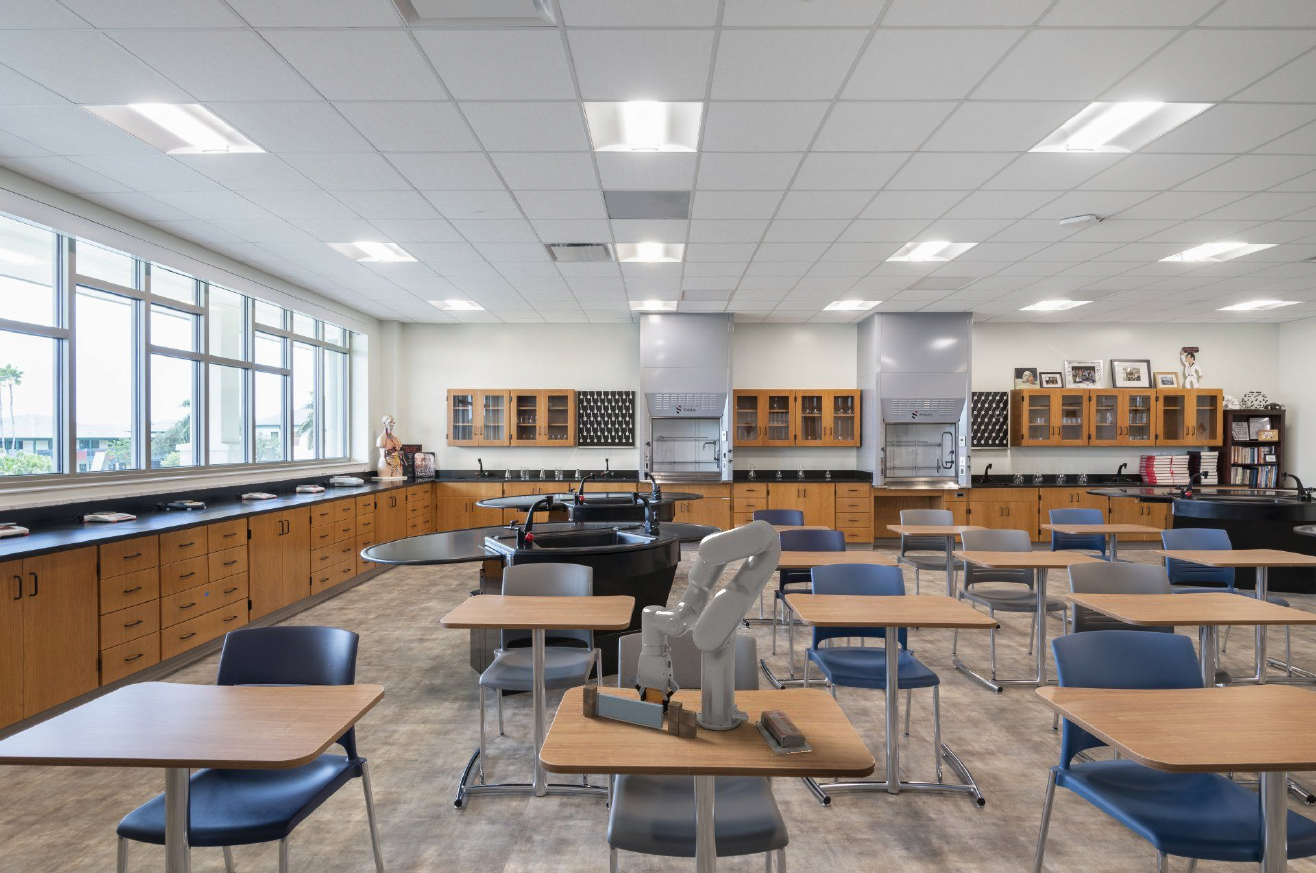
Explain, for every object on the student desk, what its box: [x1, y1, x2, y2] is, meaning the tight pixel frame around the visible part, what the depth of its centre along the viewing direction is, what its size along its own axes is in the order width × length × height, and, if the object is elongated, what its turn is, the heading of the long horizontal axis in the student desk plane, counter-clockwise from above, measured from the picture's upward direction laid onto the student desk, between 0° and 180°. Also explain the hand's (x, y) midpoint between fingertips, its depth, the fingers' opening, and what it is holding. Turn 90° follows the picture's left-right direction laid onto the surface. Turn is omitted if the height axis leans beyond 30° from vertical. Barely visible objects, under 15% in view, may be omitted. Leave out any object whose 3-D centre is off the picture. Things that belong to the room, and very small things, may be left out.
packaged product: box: [754, 709, 814, 756], centre depth 170 cm, size 18×5×10 cm
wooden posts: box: [582, 684, 698, 739], centre depth 178 cm, size 35×3×8 cm, turn 64°
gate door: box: [595, 692, 664, 729], centre depth 179 cm, size 21×1×6 cm, turn 64°
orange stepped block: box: [644, 687, 671, 705], centre depth 186 cm, size 11×6×6 cm, turn 151°
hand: (655, 709), depth 187 cm, fingers closed on orange stepped block, 6 cm apart
